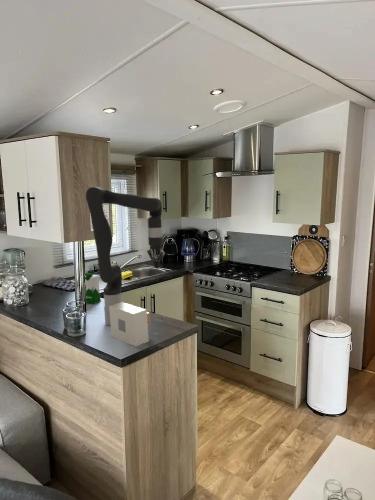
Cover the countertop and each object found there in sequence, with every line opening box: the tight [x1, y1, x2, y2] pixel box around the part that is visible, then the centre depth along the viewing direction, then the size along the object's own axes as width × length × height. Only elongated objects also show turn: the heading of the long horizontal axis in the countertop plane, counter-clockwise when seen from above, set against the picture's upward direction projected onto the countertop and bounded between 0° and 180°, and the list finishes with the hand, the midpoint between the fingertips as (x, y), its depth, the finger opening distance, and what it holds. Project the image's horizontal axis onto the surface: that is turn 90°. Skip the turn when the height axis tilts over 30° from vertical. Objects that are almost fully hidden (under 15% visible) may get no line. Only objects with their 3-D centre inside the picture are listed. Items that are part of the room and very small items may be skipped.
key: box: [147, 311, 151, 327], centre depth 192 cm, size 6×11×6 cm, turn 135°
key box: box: [109, 301, 150, 347], centre depth 188 cm, size 20×8×16 cm, turn 45°
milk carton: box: [84, 272, 101, 305], centre depth 253 cm, size 9×9×20 cm
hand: (156, 268), depth 204 cm, fingers closed
